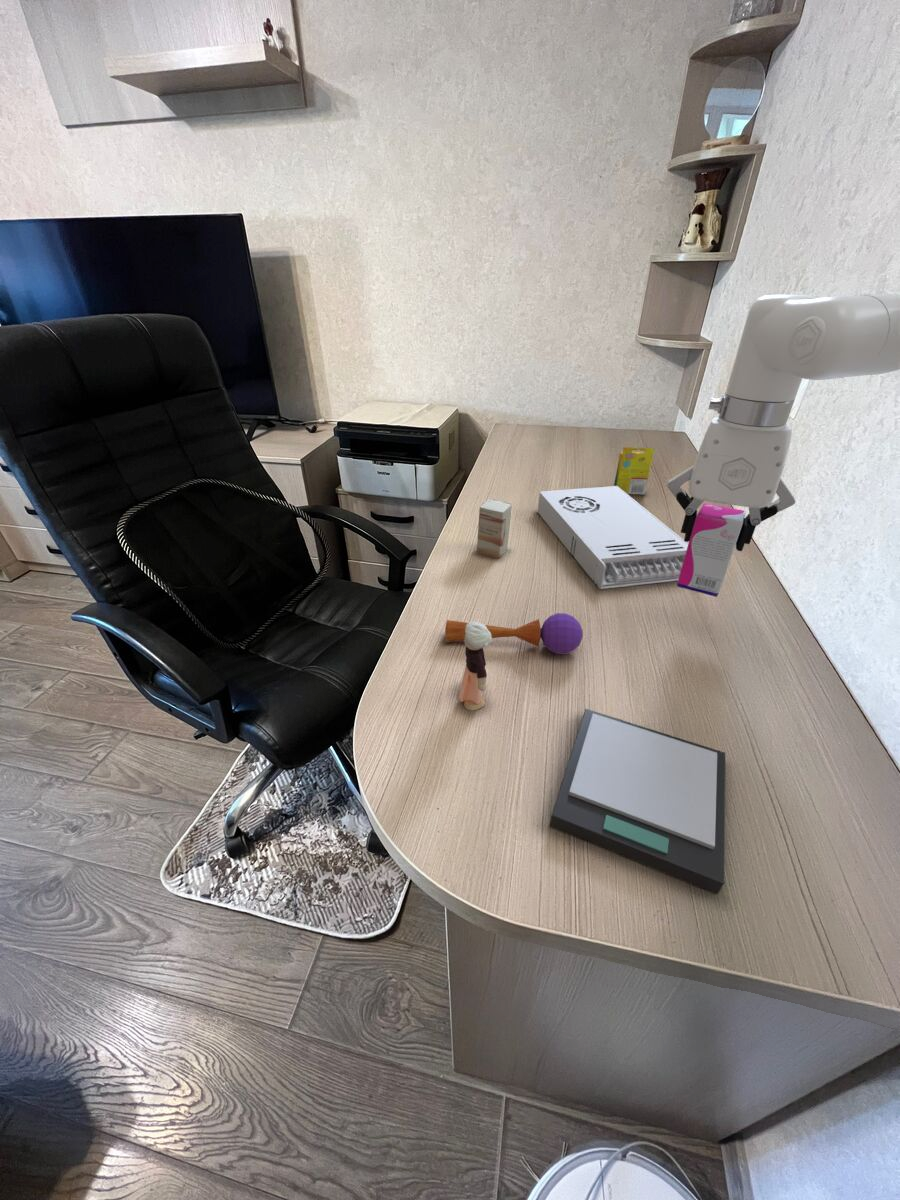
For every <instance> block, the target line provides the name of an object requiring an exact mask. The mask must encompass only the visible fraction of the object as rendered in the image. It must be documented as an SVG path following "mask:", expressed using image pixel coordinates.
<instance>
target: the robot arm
mask: <svg viewBox="0 0 900 1200" xmlns="http://www.w3.org/2000/svg"><path fill="white" fill-rule="evenodd" d="M895 371H900V292H899V293H890V294H889V293H877V294H856V295H853V294H852V295H834V296H825V297H820V296H818V295H812V294H790V293H789V294H788V293H787V294H768V295H767V294H766V295H763V296H759V297H758V298H757V299H756V300H755V301H754V302H753V303H752V304H751V306H750V307H749V310H748V312H747V316H746V319H745V322H744V326H743V330H742V333H741V337H740V341H739V343H738V348H737V351H736V355H735V359H734V362H733V365H732V369H731V371H730V372H731V373H730V376H729V379H728V383H727V386H726V389H725V393H724V395H721V397H717V398H713V397H711V398H710V400H709V405H708V410H711V411H714V412H717V414H718V416H716V417H713V418H712V420H711V421H710V423H709V425H708V426H707V429H706V431H705V433H704V436H703V439H702V441H701V444H700V447H699V449H698V452H697V454H696V458H695V461H694V464H692V465H691V466H689V467H688V468H686V469H685V470H683V471H681V472H680V473H678V474H677V475H675V476H673V477H672V478H670V479H669V480H668V482H667V484H666V486H667V488H668V490H669V491H670V493H671V494H672V495H673V496H674V498H675V500H676V501H677V503H678V504H679V505H680V507H681V508H682V509H683V511H684V519H683V521H682V524H681V529H680V533H681V534H684V538H683V540H684V541H685V542H687V543H689V540H690V537H691V534H692V530H693V527H694V523H695V519H696V516H697V515H698V509H699V507H700V506H701V505H703V502H708V503H709V502H710V503H717V504H723V505H730V506H737V507H745V508H748V514H747V515H745V517H744V521H743V525H742V528H741V530H740V533H739V536H738V539H737V542H736V545H735V550H737V552H743V550H744V546H745V544H746V545H750V543H751V541H752V538H753V536H754V533H755V530H756V527H758V526H759V525H760V524H761V523H762V522H763V521H766V520H767V519H771V517H774V516H775V515H777V514H778V513H780V512H782V511H785V510H786V509H788V508H790V507H792V506H794V505H795V503H796V499H795V496H794V495H793V493H792V492H791V491H790V489H789V487H787V485H786V484H785V482H784V481H783V479H782V474H783V471H784V469H785V465H786V463H787V462H786V461H787V458H788V453H789V450H790V445H791V439H792V434H793V428H792V427H791V426H790V425H789V424H787V423H788V420H789V418H790V414H791V412H792V409H793V407H794V403H795V400H796V397H797V395H798V391H799V390H800V386H801V383H802V380H810V381H823V380H836V379H844V378H853V377H860V376H861V377H863V376H875V375H883V374H888V373H892V372H895ZM687 482H689V483H688V492H686V490H685V489H683V485H684V484H685V483H687ZM776 495H777V497H778V498H777V499H776V500H774V499H775V496H776Z"/></svg>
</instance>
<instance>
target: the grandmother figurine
mask: <svg viewBox="0 0 900 1200" xmlns="http://www.w3.org/2000/svg"><path fill="white" fill-rule="evenodd" d="M467 623H468V624H467V625H466V627H465V633H466V634H465V637H464V641H463V642H464V645H465V649H464V650H465V652H464V653H465V664H466V665H465V666H464V671H463V675H462V679H461V684H460V688H459V692H458V700H459V701H460V702H462V703H463V706H464V708H465V709H466V710H468V711H471V712H472V711H475V710H479V709H482V708H484V707H485V705H486V703H485V700H484V698H483V692H485V691H486V690H487V684H486V683H487V676H488V675H487V670H486V665H487V661H486V655H485V651H484V648H483V647H487V646H488V645H490V644H491V642H492V640H493V638H492V637H491V633H490V632H489V630H488V629H487V627H486V626H485V625H486V624H484V623H482V622H479V621H475V620H472V621H469V622H467Z"/></svg>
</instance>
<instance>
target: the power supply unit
mask: <svg viewBox="0 0 900 1200" xmlns="http://www.w3.org/2000/svg"><path fill="white" fill-rule="evenodd" d="M537 512H538V514H539V516H541V518H542V519H543V520H544V522H545V523H546V524H547V526H548V527H549V528H550V530H551V531H552V532H553V533H554V534H555V535H556V537H557V538H558V539H559V541H560V542H561V543H562V544H563V546H564V547H565V548H566V549H567V550H568V552H569V553H570V554H571V555H572V556H573V558H574V559H575V560H576V561H577V563H578V564H579V565H580V566H581V568H582V569H583V570H584V571H585V573H586V574H587V575H588V576H589V578H590V579H591V580H592V582H593V583H594V584H595V585H596V586H597V588H598V589H599V590H608V589H616V588H626V587H634V586H642V585H643V586H645V585H652V584H653V585H654V584H661V583H670V582H678V579H679V575H680V572H681V568H682V565H683V561H684V558H685V554H686V551H687V547H688V544H689V542H685V541H684V538H682V537H681V536H680V535H679V534H677V533H676V532H675V531H674V530H672V529H671V528H670V527H669V526H668V525H666V524H665V523H664V522H662V521H661V520H660V519H658V517H657V516H655V515H654V514H652V513H651V512H650V511H649V510H648V509H646V508H645V507H644V506H643V505H641V503H639V502H638V501H637V500H635V499H634V498H633V497H631V495H630V494H627V493H625V492H624V491H623V490H622V489H620V488H619V487H618V486H614V485H612V486H611V485H610V486H597V487H583V488H570V489H555V490H544V491H543V490H542V491H539V494H538V504H537Z"/></svg>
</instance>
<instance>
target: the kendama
mask: <svg viewBox="0 0 900 1200" xmlns="http://www.w3.org/2000/svg"><path fill="white" fill-rule="evenodd" d="M468 623H469V622H466V621H465V622H464V621H458V620H451V619H450V620H449V619H448V620H446V622H445V628H444V629H445V631H444V633H445V634H444V635H445V642H446V643H450V642H464V637H465V634H466V633H465V627H466V625H467V624H468ZM484 625H485V626H486V627H487V629H488V630H489V632H490V633H491V637H492V639H499V638H512V637H516V638H518V639H519V640H522V641H524V642H526V643H528V644H531V645H532V646H535V647H537V648H539V647H540V643H541V641H542V645H544V646H545V648H546V649H547V650H548V651H550V652H552V653H554V654H556V655H566V654H569V653H571V652H572V653H573V652H574V651H575V650H577V648H578V647H579V646H580V644H581V643H582V640H583V638H584V637H583V636H584V634H583V633H584V632H583V627H582V625H581V624H580V622H579V620H577V618H575V616H573V615H571V614H569V613H567V612H565V613H563V612H561V613H560V612H557V613H555V614H552V615H550V616H548V617H547V618H546V619H545V620H544V621H543V623H542V625H541V622H540V618H538V619H535V620H533V621H530V622H528V623H525V624H523V625H521V626H519V627H516V628H513V627H511V628H510V627H502V626H497V625H487V624H484Z"/></svg>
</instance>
